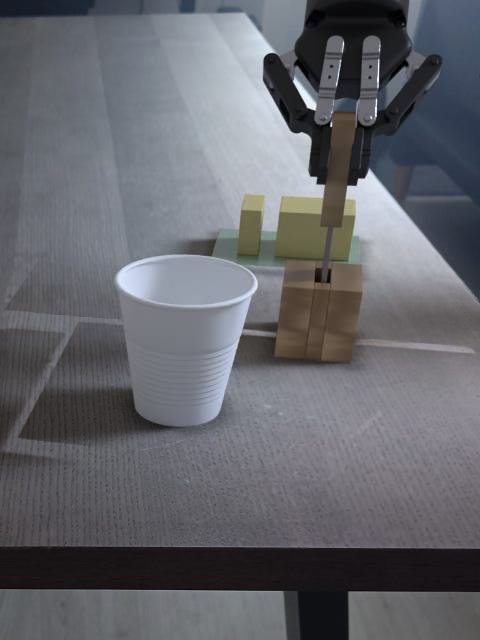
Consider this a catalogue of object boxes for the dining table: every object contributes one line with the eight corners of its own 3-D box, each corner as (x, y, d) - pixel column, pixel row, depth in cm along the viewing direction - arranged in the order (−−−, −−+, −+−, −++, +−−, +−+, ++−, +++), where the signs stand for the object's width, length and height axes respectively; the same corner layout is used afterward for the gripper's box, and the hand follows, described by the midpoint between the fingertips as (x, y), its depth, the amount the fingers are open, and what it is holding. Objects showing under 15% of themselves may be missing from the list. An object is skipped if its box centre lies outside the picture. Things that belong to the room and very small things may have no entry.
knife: (327, 323, 86) (356, 111, 77) (326, 336, 84) (356, 120, 75) (307, 321, 86) (333, 111, 77) (306, 334, 84) (333, 119, 75)
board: (357, 250, 106) (359, 235, 106) (357, 286, 98) (360, 271, 97) (218, 242, 110) (219, 228, 109) (208, 276, 102) (209, 261, 101)
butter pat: (261, 238, 106) (265, 195, 103) (257, 255, 102) (262, 210, 99) (241, 237, 106) (245, 194, 104) (236, 254, 102) (240, 209, 100)
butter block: (349, 243, 104) (355, 199, 101) (349, 261, 100) (355, 215, 97) (277, 239, 105) (281, 195, 103) (274, 256, 101) (279, 211, 99)
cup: (267, 438, 75) (283, 295, 69) (137, 459, 73) (143, 314, 67) (210, 379, 83) (221, 247, 77) (93, 397, 81) (95, 263, 75)
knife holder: (349, 343, 88) (362, 264, 84) (349, 374, 83) (362, 292, 79) (277, 337, 89) (286, 259, 86) (273, 367, 85) (282, 286, 81)
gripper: (269, -59, 78) (242, 150, 75) (465, -62, 74) (446, 157, 71) (267, 7, 85) (242, 200, 82) (446, 6, 82) (427, 208, 78)
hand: (337, 179), depth 76 cm, fingers closed on knife, 1 cm apart
